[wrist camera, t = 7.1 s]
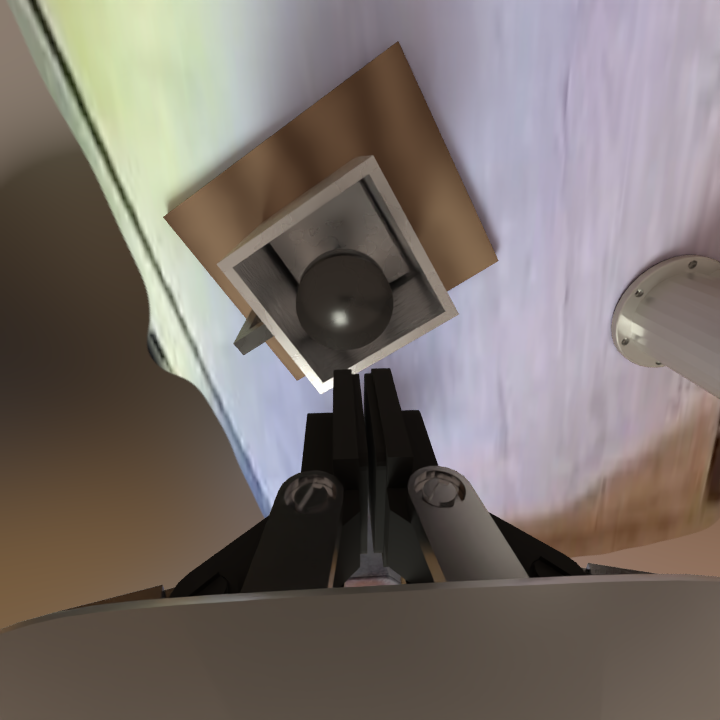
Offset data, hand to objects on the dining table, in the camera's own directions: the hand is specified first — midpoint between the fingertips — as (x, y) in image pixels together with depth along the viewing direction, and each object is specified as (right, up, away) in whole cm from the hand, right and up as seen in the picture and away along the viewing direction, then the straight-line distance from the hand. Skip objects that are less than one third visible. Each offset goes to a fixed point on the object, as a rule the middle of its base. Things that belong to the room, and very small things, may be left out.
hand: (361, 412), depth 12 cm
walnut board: (-2, +13, +26) cm, 30 cm away
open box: (-3, +12, +25) cm, 28 cm away
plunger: (-2, +10, +20) cm, 22 cm away
